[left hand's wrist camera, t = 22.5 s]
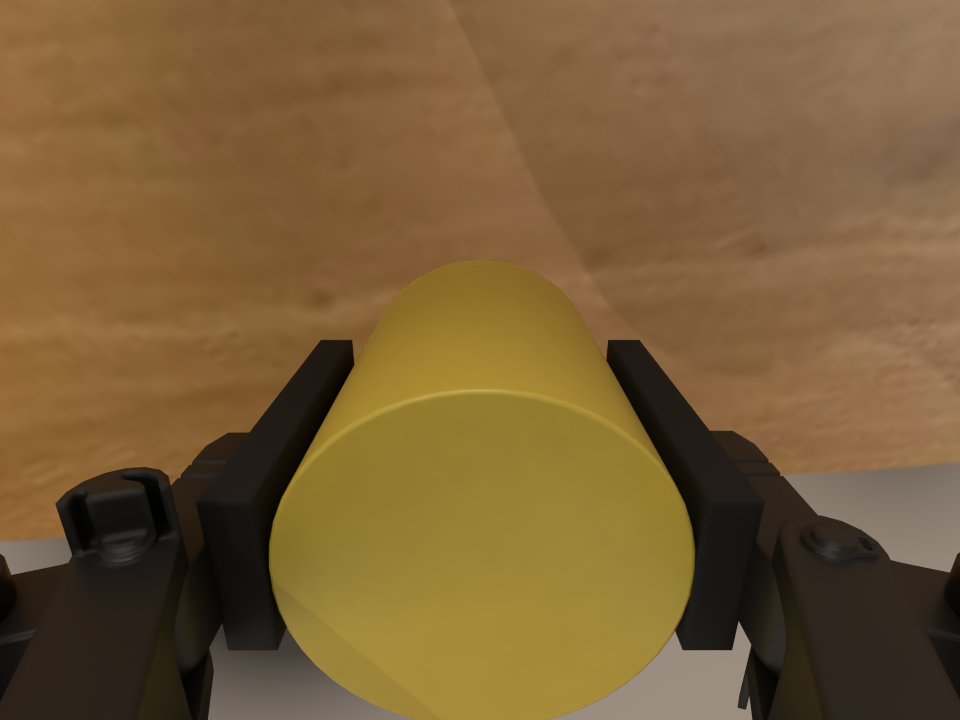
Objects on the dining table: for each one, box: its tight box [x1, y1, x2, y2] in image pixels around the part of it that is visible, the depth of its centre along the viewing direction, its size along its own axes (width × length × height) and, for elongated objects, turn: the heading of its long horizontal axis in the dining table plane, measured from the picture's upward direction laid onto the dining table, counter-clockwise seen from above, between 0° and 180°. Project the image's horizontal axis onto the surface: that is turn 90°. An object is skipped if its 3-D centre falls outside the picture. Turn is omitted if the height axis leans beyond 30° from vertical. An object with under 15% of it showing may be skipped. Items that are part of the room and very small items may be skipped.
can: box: [269, 260, 695, 720], centre depth 12 cm, size 6×6×8 cm
